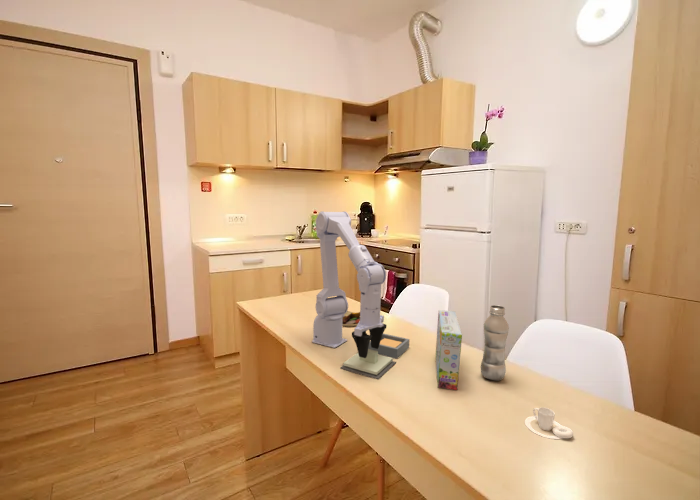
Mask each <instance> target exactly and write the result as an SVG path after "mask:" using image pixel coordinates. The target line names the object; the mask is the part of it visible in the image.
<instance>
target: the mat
mask: <svg viewBox="0 0 700 500" xmlns="http://www.w3.org/2000/svg"><path fill="white" fill-rule="evenodd" d="M396 364H397V361H394V360H393V361H392V362H391V363H390V364H388V365H387V366H386V367H385V368H384V369H383V370H382V371H381V372H380V373H378V374H377V375H375V374H371V373H368V372H364V371H361V370H357V369H354V368H350V367H347V366H343V365H342V366H340V370H344V371H348V372H350V373H354V374H358V375H361V376H365V377H368V378H371V379H373V380H380V379H381V378H383V376H384V375H385V374H387V372H389V370H390V369H392V368H393V367H394V366H395V365H396Z"/></svg>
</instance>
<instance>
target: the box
mask: <svg viewBox="0 0 700 500" xmlns="http://www.w3.org/2000/svg"><path fill="white" fill-rule="evenodd" d="M368 349H371V350H375V351H378V355H382V356H386V357H390V358H393V359H397V360H398V358H400V357H401V356H402V355H403V354H404V353H405V352H406V351H407V350H409V349H410V338H405V337H400V336H396V335H393V334H389V333H383V335H382V338H381V341H380V345H379V348H378V349H376V348H372V347H371V340H370V342H369V346H368Z"/></svg>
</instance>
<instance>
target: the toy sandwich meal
mask: <svg viewBox="0 0 700 500" xmlns="http://www.w3.org/2000/svg"><path fill="white" fill-rule="evenodd" d="M359 321H360V311H359V312H352V311H349V310H347V312H346V313H345V314H344V317H343V319H342V327H344V326H345V328H352V327H353V328H356V327H357V325H358V323H359Z"/></svg>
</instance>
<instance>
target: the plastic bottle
mask: <svg viewBox="0 0 700 500" xmlns="http://www.w3.org/2000/svg"><path fill="white" fill-rule="evenodd" d="M489 307H490V308H489V316H488V317H487V318H486V319H485V321H484V322H483V334H484V335H483V338H484V346H483V347H484V348H483V355H482V359H481V364H480V373H481V374H482V376H483V377H484V378H485V379H486V380H487V379H488V380H490V381H497V382H498V381H501V380H503V379H504V378H505V376H506V372H507V368H506V367H507V366H506V356H505V355H506V346H507V345H506V343H507V339H508V335H509V331H510V327H509V324H508V321H507V320H506V318H505V314H506V313H505V310H506V309H505V306H502V305H498V304H495V305H494V304H493V305H490V306H489Z"/></svg>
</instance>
